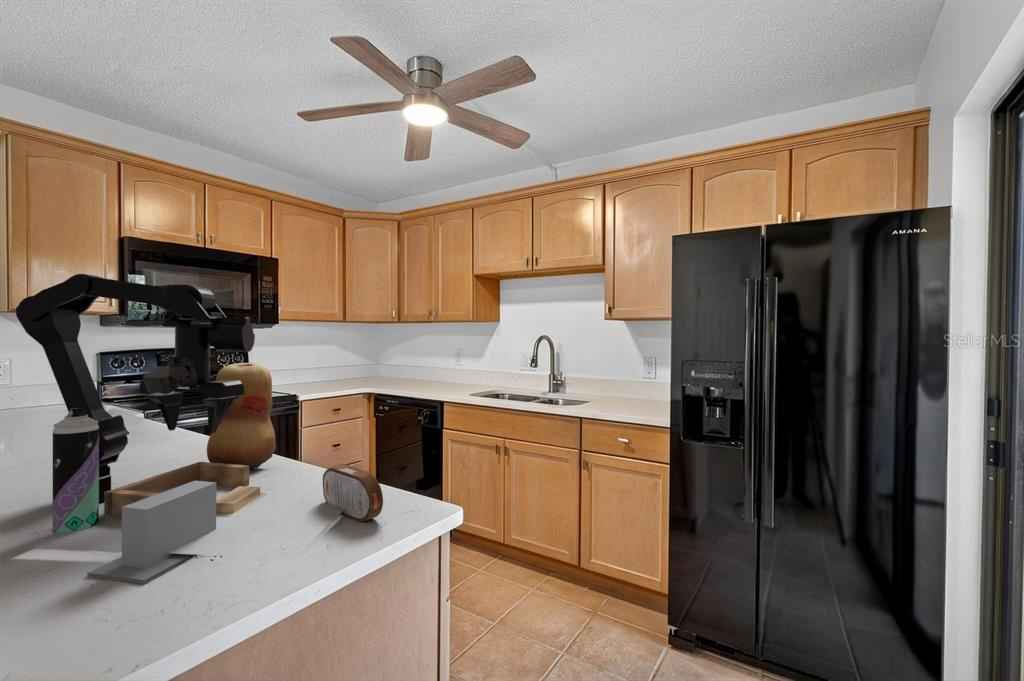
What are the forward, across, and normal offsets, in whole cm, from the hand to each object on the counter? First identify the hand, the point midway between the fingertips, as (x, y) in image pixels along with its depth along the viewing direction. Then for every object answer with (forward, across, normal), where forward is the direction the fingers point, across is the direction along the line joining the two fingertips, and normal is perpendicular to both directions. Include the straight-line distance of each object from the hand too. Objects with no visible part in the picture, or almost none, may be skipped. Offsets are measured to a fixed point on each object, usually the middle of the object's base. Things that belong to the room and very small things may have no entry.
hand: (191, 431), depth 93 cm
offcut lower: (+14, +13, -3) cm, 19 cm away
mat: (+13, +16, -19) cm, 28 cm away
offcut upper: (+12, +13, -3) cm, 18 cm away
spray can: (+13, -4, -18) cm, 22 cm away
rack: (+13, +1, -3) cm, 13 cm away
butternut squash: (+13, -4, +17) cm, 22 cm away
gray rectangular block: (+12, +16, -19) cm, 28 cm away
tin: (+13, +34, 0) cm, 36 cm away
